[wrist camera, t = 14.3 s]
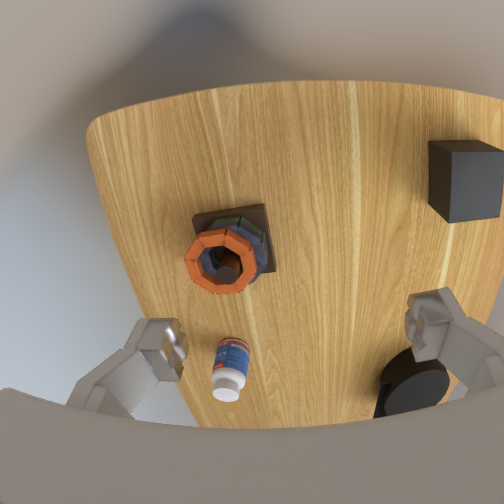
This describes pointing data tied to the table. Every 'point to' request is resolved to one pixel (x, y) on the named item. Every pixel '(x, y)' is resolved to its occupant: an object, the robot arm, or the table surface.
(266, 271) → the stack post
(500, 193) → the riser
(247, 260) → the orange ring
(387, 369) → the black cylinder with pointer
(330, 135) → the table surface
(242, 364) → the pill bottle
